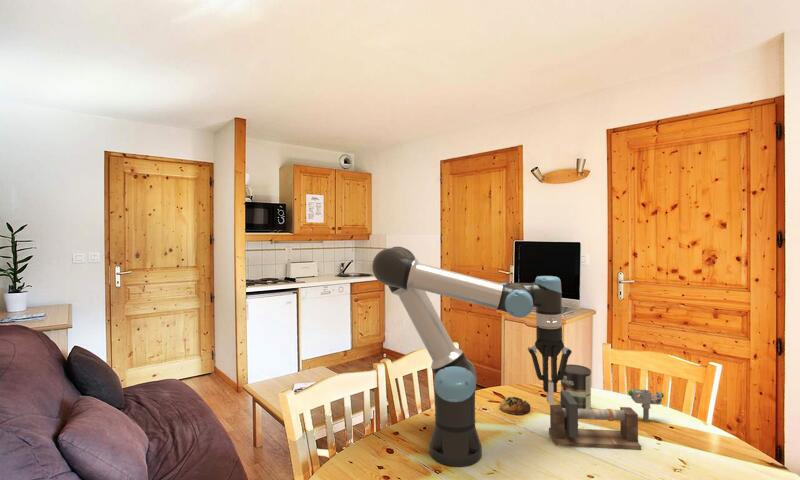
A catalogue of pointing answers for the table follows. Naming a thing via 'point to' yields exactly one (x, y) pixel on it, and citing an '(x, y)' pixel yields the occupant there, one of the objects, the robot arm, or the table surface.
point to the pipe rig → (597, 438)
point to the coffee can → (578, 384)
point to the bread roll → (515, 406)
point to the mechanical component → (645, 400)
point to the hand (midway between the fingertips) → (550, 401)
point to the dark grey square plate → (570, 413)
